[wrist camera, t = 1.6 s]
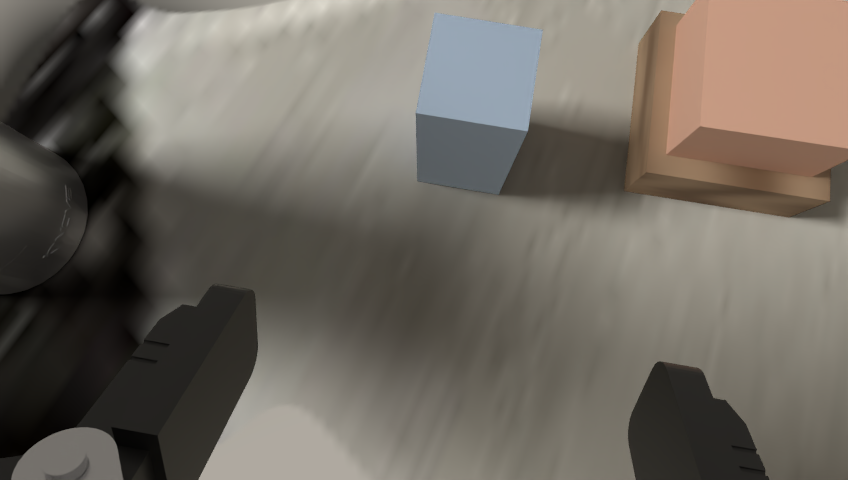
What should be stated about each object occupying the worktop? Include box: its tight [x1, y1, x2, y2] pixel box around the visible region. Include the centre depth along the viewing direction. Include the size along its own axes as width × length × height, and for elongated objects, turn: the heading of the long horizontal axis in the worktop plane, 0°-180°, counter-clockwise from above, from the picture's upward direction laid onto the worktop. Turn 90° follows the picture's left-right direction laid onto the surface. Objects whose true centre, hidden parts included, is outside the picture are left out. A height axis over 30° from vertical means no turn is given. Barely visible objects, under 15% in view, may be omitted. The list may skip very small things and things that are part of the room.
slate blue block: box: [416, 13, 543, 195], centre depth 31 cm, size 5×5×10 cm
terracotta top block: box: [666, 0, 848, 177], centre depth 31 cm, size 8×8×4 cm
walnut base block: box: [624, 11, 831, 217], centre depth 35 cm, size 10×10×4 cm
